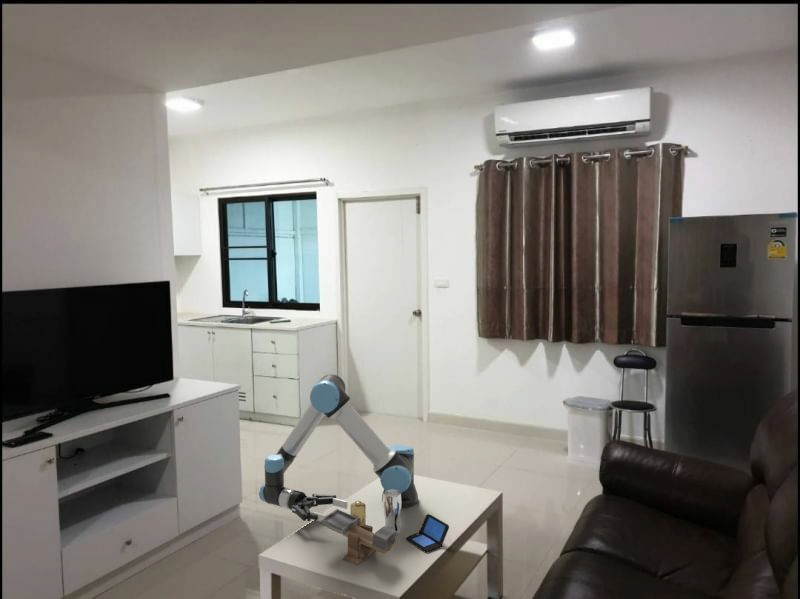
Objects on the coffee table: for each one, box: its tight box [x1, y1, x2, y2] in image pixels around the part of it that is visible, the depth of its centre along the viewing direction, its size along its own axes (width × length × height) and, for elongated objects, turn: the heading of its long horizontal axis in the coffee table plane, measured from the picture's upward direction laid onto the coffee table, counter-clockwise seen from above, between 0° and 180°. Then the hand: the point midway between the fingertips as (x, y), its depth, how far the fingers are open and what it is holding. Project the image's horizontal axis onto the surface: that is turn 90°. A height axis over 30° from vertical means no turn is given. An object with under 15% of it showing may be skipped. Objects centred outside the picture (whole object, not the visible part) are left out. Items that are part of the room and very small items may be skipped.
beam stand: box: [343, 524, 376, 565], centre depth 209 cm, size 12×6×8 cm, turn 150°
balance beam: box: [320, 508, 397, 555], centre depth 209 cm, size 10×26×6 cm, turn 60°
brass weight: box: [349, 500, 367, 527], centre depth 223 cm, size 6×6×12 cm
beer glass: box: [382, 489, 402, 535], centre depth 225 cm, size 7×7×15 cm
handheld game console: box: [405, 513, 450, 553], centre depth 217 cm, size 12×11×7 cm
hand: (336, 512), depth 228 cm, fingers open, 13 cm apart
